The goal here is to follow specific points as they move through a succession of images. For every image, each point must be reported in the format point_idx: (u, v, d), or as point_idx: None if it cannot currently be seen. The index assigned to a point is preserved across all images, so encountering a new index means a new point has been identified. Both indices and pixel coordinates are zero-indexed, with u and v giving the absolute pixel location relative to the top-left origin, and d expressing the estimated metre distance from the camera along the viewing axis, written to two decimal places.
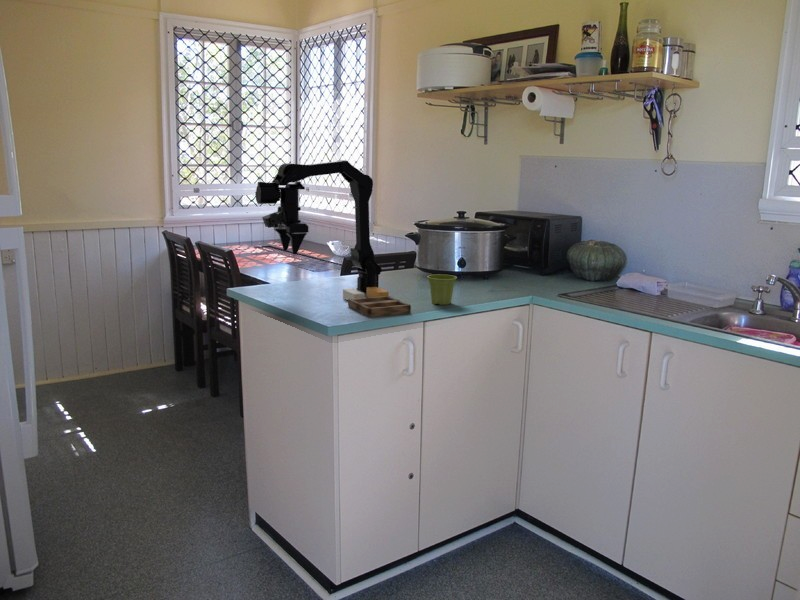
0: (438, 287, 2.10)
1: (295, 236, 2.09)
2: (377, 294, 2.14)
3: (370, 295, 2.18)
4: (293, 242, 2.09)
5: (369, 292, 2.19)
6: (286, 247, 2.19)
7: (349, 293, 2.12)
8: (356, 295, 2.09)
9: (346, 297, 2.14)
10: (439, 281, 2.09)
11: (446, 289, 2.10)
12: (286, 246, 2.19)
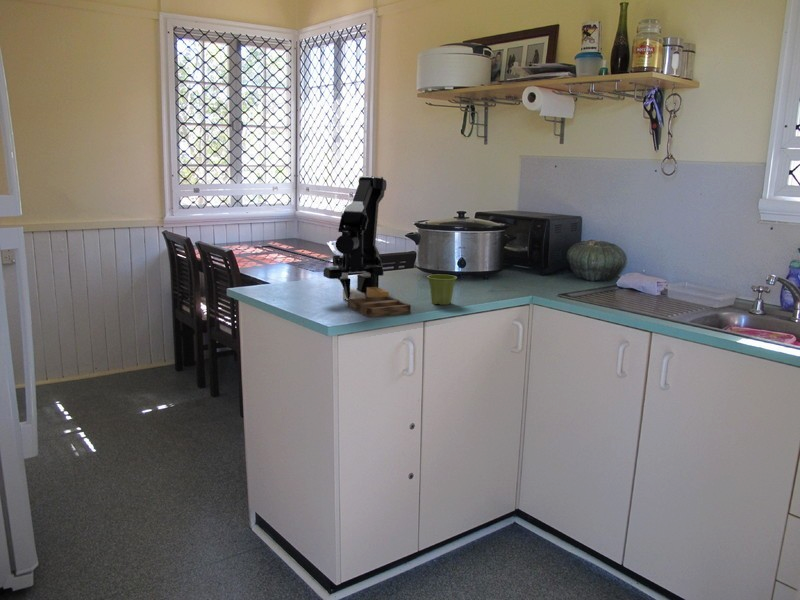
0: (438, 287, 2.10)
1: None
2: (377, 294, 2.14)
3: (370, 295, 2.18)
4: (343, 286, 2.12)
5: (369, 292, 2.19)
6: None
7: None
8: (356, 295, 2.09)
9: (346, 297, 2.14)
10: (439, 281, 2.09)
11: (446, 289, 2.10)
12: None
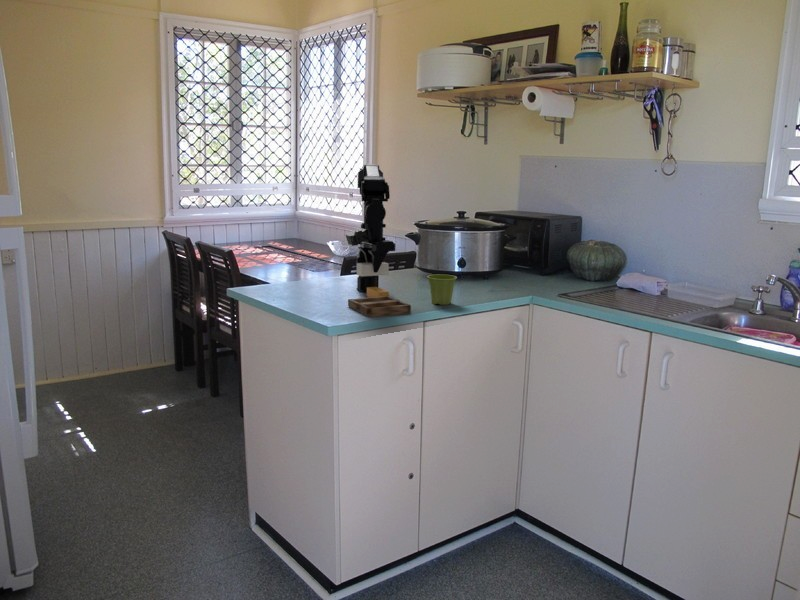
0: (438, 287, 2.10)
1: (377, 253, 2.00)
2: (377, 294, 2.14)
3: (370, 295, 2.18)
4: (375, 260, 2.00)
5: (369, 292, 2.19)
6: None
7: None
8: None
9: (370, 271, 2.01)
10: (439, 281, 2.09)
11: (446, 289, 2.10)
12: None
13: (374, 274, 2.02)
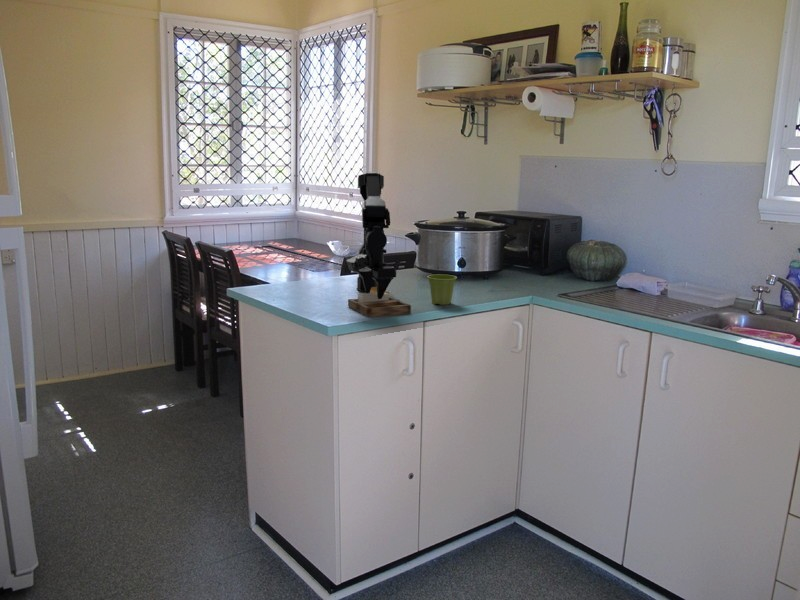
0: (438, 287, 2.10)
1: (381, 280, 1.99)
2: None
3: None
4: (379, 287, 1.99)
5: None
6: (369, 290, 2.09)
7: (377, 296, 2.04)
8: None
9: None
10: (439, 281, 2.09)
11: (446, 289, 2.10)
12: (369, 289, 2.09)
13: None
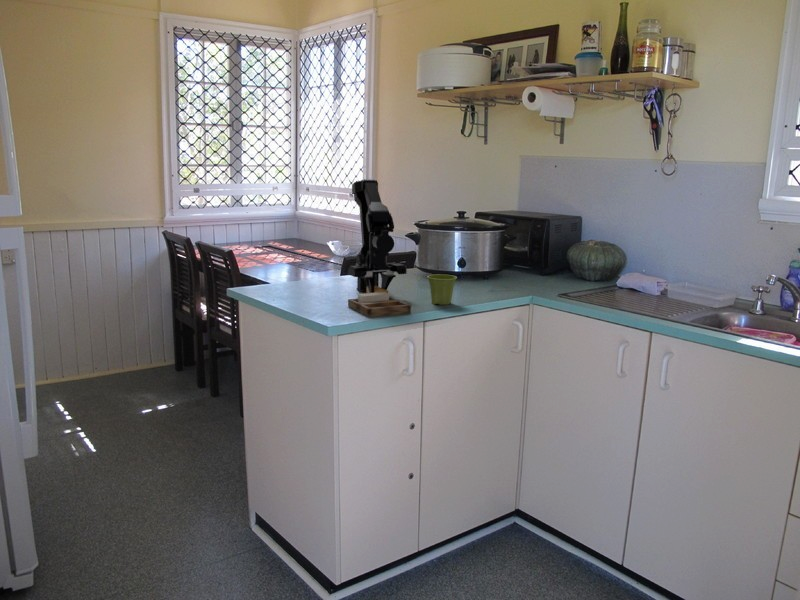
0: (438, 287, 2.10)
1: (368, 279, 2.15)
2: None
3: None
4: (367, 284, 2.16)
5: None
6: None
7: (377, 296, 2.04)
8: None
9: None
10: (439, 281, 2.09)
11: (446, 289, 2.10)
12: None
13: None
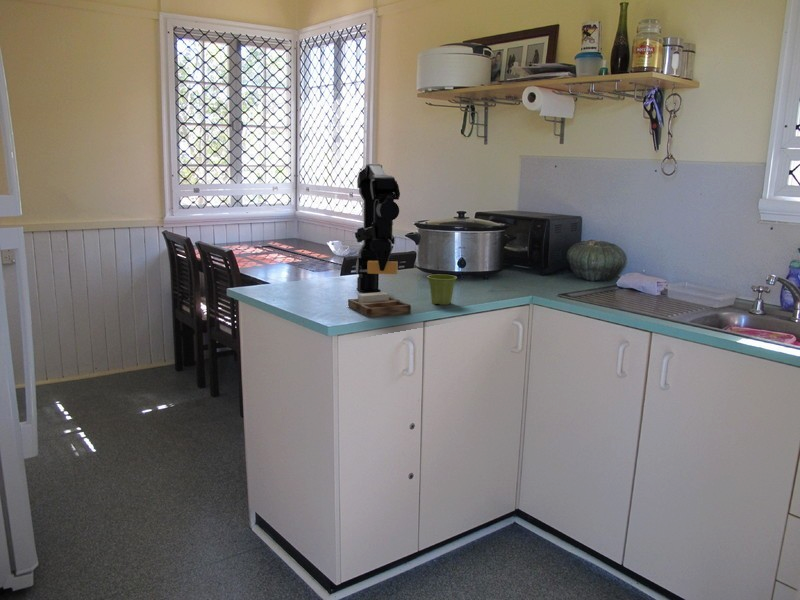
0: (438, 287, 2.10)
1: (381, 252, 2.00)
2: (392, 265, 2.02)
3: (377, 269, 2.02)
4: (379, 258, 2.00)
5: (373, 266, 2.02)
6: None
7: (377, 296, 2.04)
8: None
9: None
10: (439, 281, 2.09)
11: (446, 289, 2.10)
12: None
13: None
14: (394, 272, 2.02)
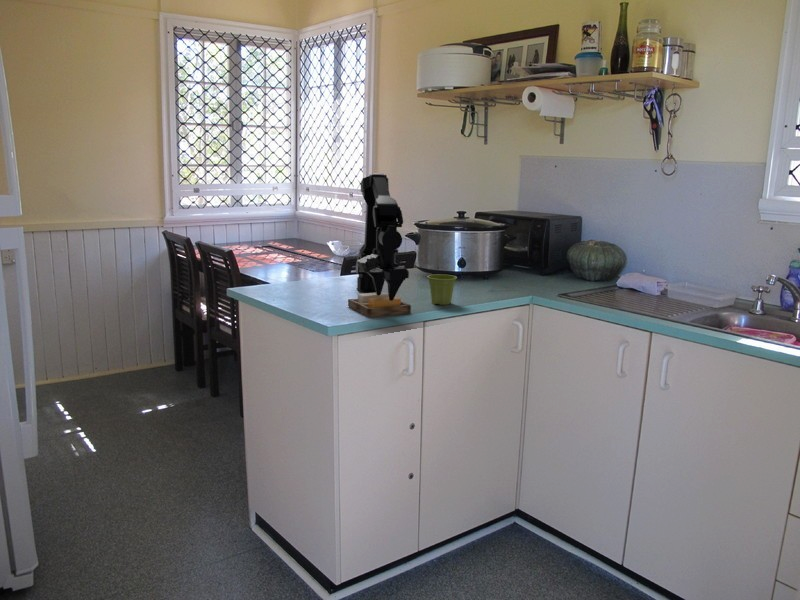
0: (438, 287, 2.10)
1: (393, 281, 1.93)
2: (397, 302, 1.99)
3: None
4: (390, 288, 1.93)
5: (379, 304, 1.96)
6: (380, 291, 2.02)
7: (377, 296, 2.04)
8: None
9: None
10: (439, 281, 2.09)
11: (446, 289, 2.10)
12: (380, 290, 2.02)
13: None
14: None
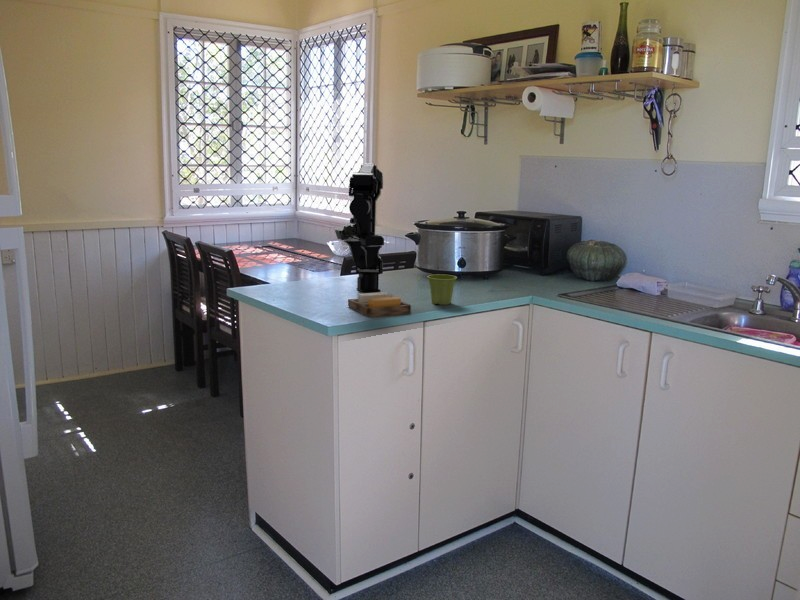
0: (438, 287, 2.10)
1: (369, 249, 2.00)
2: (397, 302, 1.99)
3: None
4: (367, 255, 2.00)
5: (379, 304, 1.96)
6: (357, 260, 2.10)
7: (377, 296, 2.04)
8: None
9: None
10: (439, 281, 2.09)
11: (446, 289, 2.10)
12: (357, 258, 2.10)
13: None
14: None
